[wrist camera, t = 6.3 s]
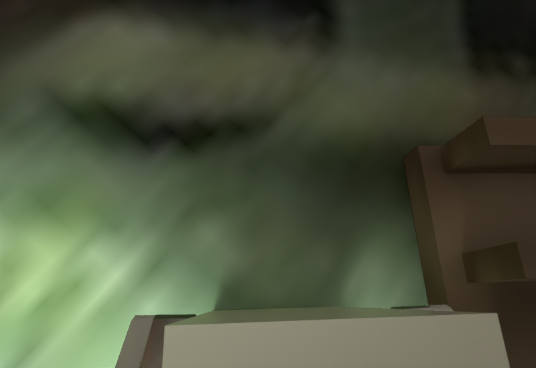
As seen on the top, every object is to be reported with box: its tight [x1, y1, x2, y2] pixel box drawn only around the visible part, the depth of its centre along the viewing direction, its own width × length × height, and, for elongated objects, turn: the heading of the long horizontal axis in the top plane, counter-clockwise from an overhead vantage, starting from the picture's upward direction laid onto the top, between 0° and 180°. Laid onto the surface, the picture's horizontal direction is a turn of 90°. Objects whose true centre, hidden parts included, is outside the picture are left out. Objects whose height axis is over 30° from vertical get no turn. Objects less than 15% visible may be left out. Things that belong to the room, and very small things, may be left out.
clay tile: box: [162, 307, 510, 368], centre depth 9 cm, size 2×5×10 cm, turn 92°
